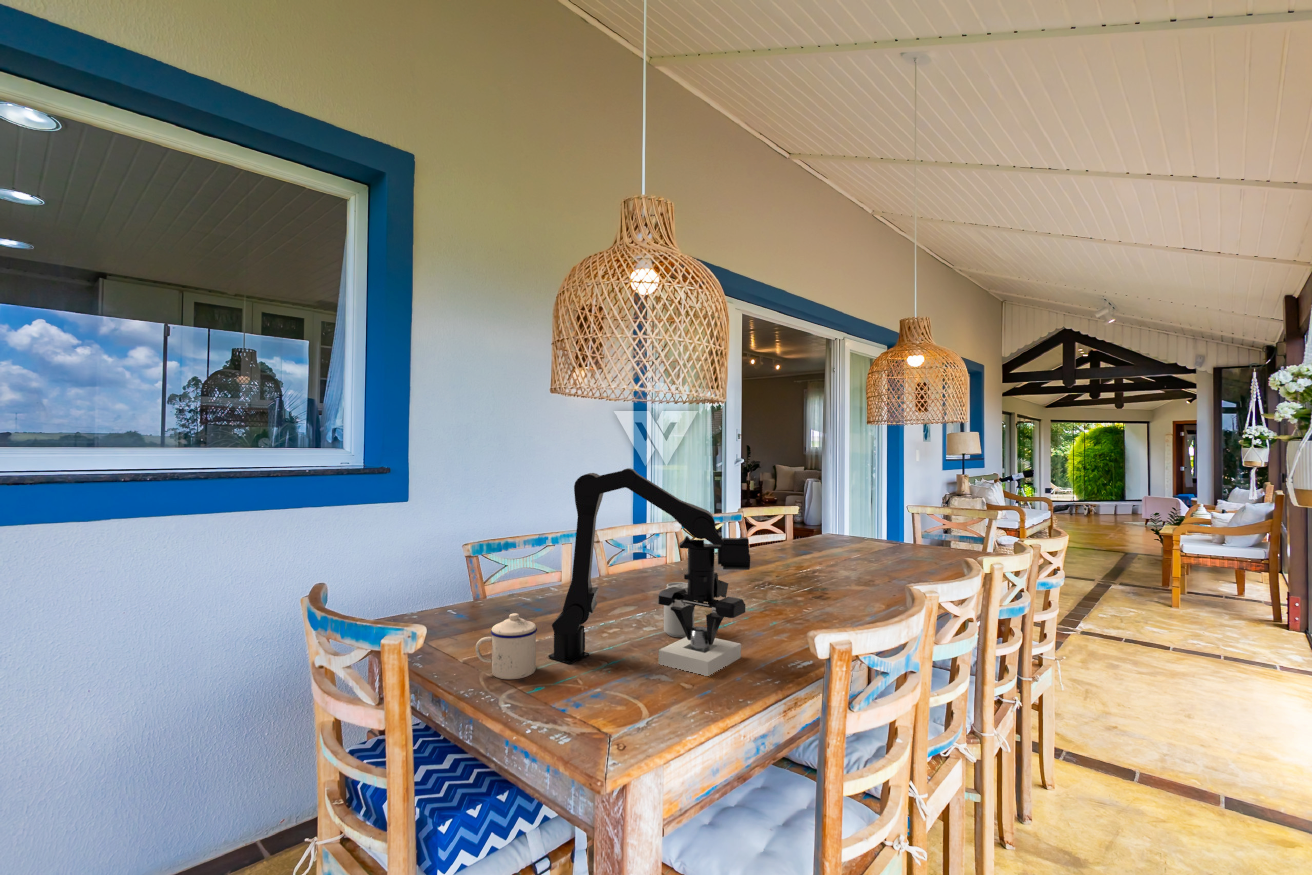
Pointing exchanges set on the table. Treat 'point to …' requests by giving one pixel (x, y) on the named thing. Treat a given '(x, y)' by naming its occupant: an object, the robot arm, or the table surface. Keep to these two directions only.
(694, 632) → the grey metal cylinder
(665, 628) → the can
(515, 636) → the teacup with lid
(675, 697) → the table surface
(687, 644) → the block
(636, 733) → the table surface
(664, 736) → the table surface
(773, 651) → the table surface
